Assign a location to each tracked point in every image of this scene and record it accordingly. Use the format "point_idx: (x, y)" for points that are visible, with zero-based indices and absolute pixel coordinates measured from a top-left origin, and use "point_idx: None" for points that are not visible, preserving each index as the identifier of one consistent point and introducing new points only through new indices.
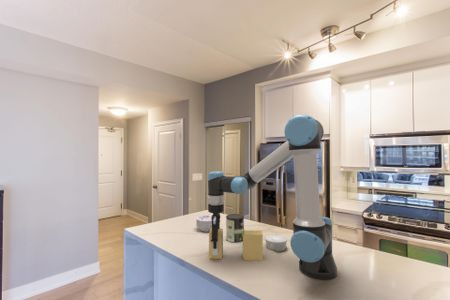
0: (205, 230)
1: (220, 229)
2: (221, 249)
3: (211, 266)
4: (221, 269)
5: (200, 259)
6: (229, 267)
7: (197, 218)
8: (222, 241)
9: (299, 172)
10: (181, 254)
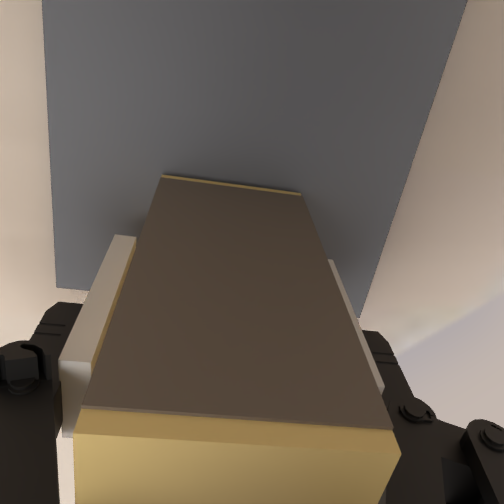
0: None
1: (98, 477)
2: (320, 248)
3: (399, 282)
4: (484, 198)
5: None
6: (472, 113)
7: None
8: (221, 274)
9: None
10: None
